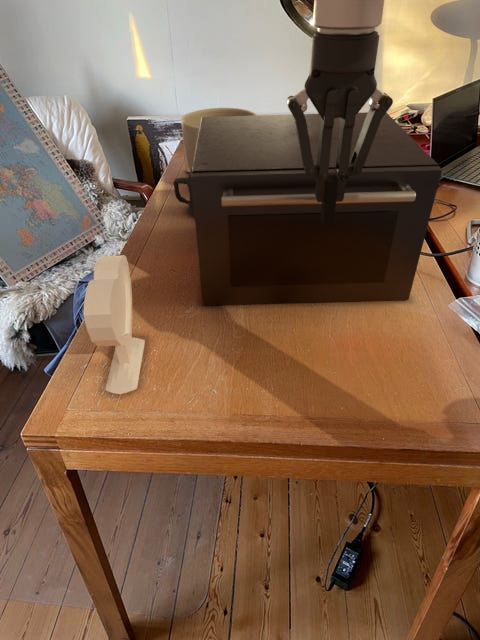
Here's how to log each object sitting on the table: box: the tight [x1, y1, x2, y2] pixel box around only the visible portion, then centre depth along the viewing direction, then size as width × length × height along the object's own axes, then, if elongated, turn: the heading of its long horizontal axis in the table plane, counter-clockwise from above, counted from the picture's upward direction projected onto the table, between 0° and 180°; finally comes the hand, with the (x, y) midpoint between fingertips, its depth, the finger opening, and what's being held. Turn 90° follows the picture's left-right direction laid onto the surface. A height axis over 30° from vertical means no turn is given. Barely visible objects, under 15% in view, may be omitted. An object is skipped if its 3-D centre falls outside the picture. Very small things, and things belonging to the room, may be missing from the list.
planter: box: [180, 107, 258, 171], centre depth 130 cm, size 21×21×19 cm
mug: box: [173, 169, 195, 218], centre depth 119 cm, size 12×9×11 cm
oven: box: [192, 111, 439, 173], centre depth 95 cm, size 32×40×26 cm
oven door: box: [191, 165, 443, 306], centre depth 80 cm, size 5×40×26 cm, turn 91°
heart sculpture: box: [83, 254, 146, 395], centre depth 71 cm, size 16×5×18 cm, turn 3°
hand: (326, 221), depth 66 cm, fingers closed
